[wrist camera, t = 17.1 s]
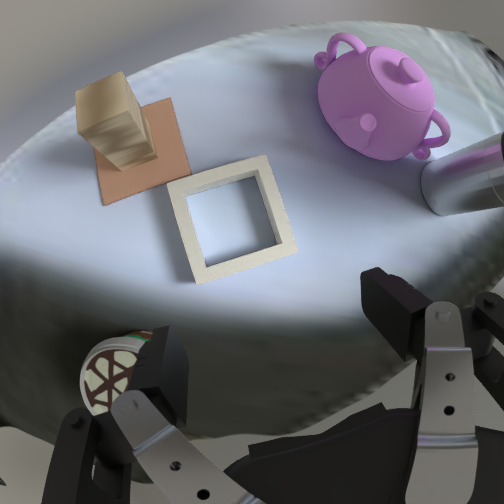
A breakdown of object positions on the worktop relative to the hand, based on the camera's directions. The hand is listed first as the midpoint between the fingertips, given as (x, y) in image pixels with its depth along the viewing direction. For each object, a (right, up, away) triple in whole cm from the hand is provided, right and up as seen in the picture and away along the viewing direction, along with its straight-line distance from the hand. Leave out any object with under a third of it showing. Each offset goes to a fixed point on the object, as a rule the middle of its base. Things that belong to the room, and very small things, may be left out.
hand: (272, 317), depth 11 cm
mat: (-16, +16, +22) cm, 31 cm away
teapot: (+15, +22, +25) cm, 36 cm away
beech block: (-16, +16, +21) cm, 31 cm away
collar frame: (-3, +6, +23) cm, 24 cm away
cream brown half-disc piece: (-17, -10, +22) cm, 29 cm away
